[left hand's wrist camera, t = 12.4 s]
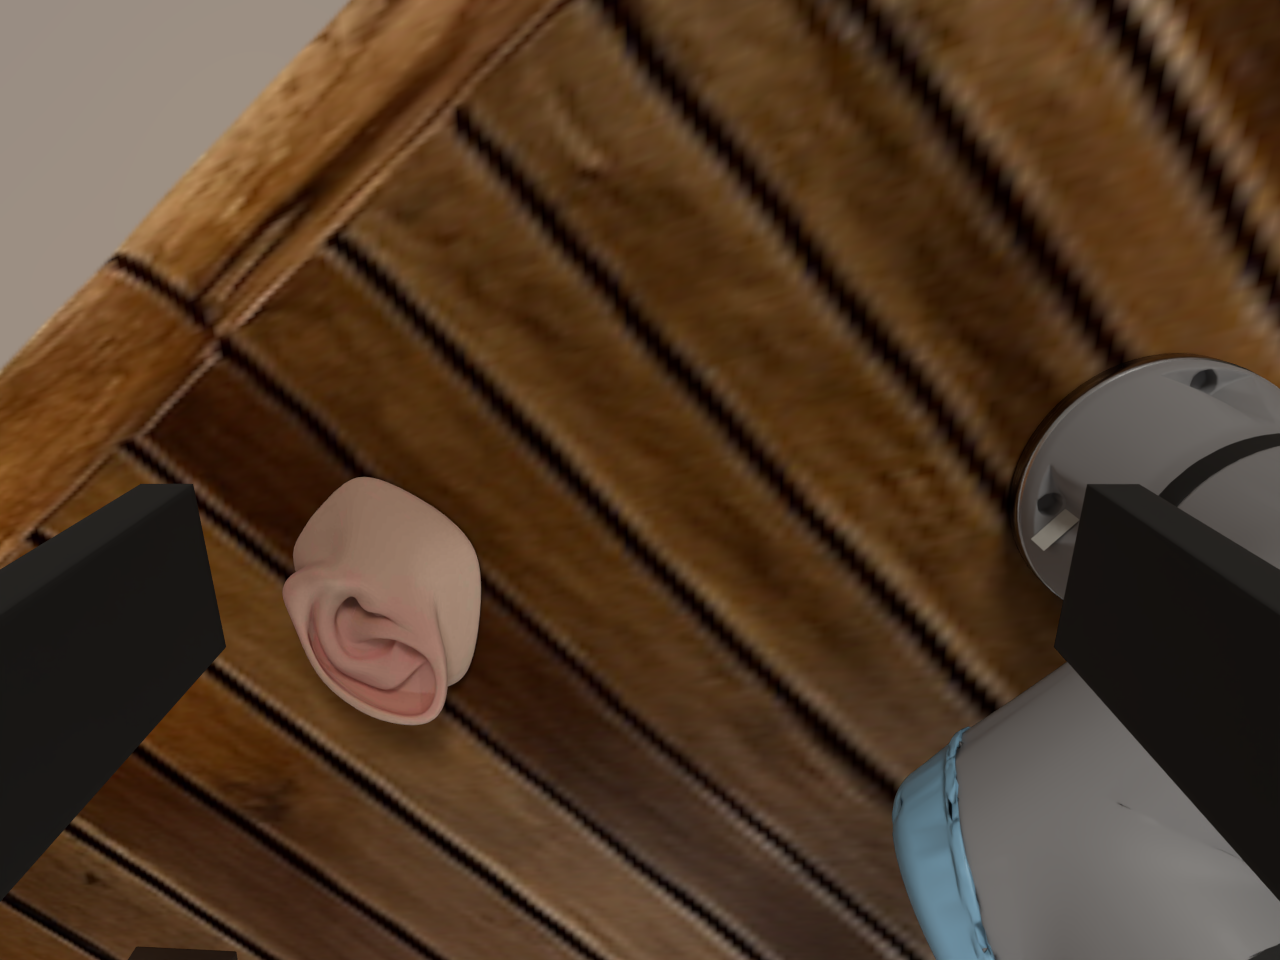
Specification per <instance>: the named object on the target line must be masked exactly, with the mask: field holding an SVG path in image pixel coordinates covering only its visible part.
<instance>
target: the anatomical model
mask: <svg viewBox="0 0 1280 960" xmlns="http://www.w3.org/2000/svg"><path fill="white" fill-rule="evenodd" d="M293 559H294V566H295V571H296V572H295V573H294V574H292V575H291V576H290V577H289V578H288V579H287V581H286V582H285V584H284V587H283V599H284V602H285V605H286V608H287V610H288V612H289V615H290V617H291V619H292V622H293V624H294V627H295V629H296V631H297V634H298V636H299V639H300V641H301V644H302V646H303V648H304V650H305V653H306V655H307V657H308V659H309V661H310V663H311V664H312V666H313V668H314V670H315V671H316V673H317V674H318V675H319V677H320V678H321V679H322V681H323V682H324V683H325V684H326V685H327V686H328V687H329V688H330V689H331V690H332V691H333V692H334V693H335V694H337V695H338V696H339V697H340V698H342V699H343V700H344V701H345V702H347V703H348V704H350V705H352V706H353V707H355V708H356V709H358V710H360V711H361V712H363V713H365V714H367V715H369V716H372V717H374V718H377V719H380V720H383V721H387V722H391V723H396V724H402V725H420V724H425V723H428V722H430V721H432V720H433V719H435V718H436V717H437V716H438V714H439V713H440V712H441V710H442V708H443V706H444V703H445V699H446V695H447V687H448V686H450V685H452V684H454V683H456V682H458V681H459V680H460V679H461V678H462V677H463V676H464V675H465V673H466V672H467V670H468V668H469V666H470V663H471V660H472V657H473V654H474V650H475V644H476V639H477V633H478V626H479V617H480V603H481V579H480V568H479V563H478V559H477V556H476V553H475V550H474V548H473V546H472V544H471V543H470V541H469V540H468V538H467V537H466V536H465V534H464V533H463V532H462V531H461V530H460V529H459V528H458V527H457V526H456V525H455V524H454V523H453V522H452V521H451V520H450V519H448V518H447V517H446V516H445V515H444V514H442V513H441V512H439V511H438V510H437V509H435V508H434V507H432V506H431V505H429V504H428V503H426V502H424V501H423V500H421V499H419V498H418V497H416V496H414V495H412V494H410V493H409V492H407V491H405V490H403V489H401V488H399V487H397V486H394V485H392V484H390V483H388V482H385V481H382V480H379V479H375V478H370V477H358V478H354V479H352V480H350V481H348V482H346V483H345V484H343V485H342V486H341V487H340V488H338V489H337V490H336V491H335V492H334V493H333V494H332V495H331V496H330V497H329V498H328V499H327V500H326V501H325V502H324V503H323V505H322V506H321V507H320V508H319V509H318V510H317V511H316V512H315V513H314V515H313V516H312V517H311V518H310V520H309V521H308V523H307V525H306V526H305V528H304V529H303V531H302V533H301V534H300V536H299V538H298V540H297V542H296V544H295V547H294V552H293Z"/></svg>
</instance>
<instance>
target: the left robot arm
mask: <svg viewBox="0 0 1280 960" xmlns="http://www.w3.org/2000/svg"><path fill="white" fill-rule="evenodd" d="M1010 521H1011V527H1012V532H1013V536H1014V539H1015V542H1016V545H1017V547H1018V550H1019V552H1020V554H1021V556H1022V558H1023V559H1024V561H1025V562H1026V564H1027V565H1028V567H1029V568H1030V569H1031V570H1032V572H1033V573H1034V574H1035V575H1036V576H1037V577H1038V578H1039V579H1040V580H1041V581H1042V582H1043V583H1044V584H1045V585H1046V586H1047V587H1048V588H1049V589H1050V590H1051V591H1052V592H1053V593H1055V594H1056V595H1057V596H1059V597H1060V598H1061V599H1063V605H1062V610H1061V615H1060V620H1059V625H1058V630H1057V635H1056V640H1055V645H1054V647H1055V649H1056V650H1057V651H1058V652H1059V653H1060V654H1061V655H1062V657H1063V658H1064V659H1065V660H1066V661H1067V662H1066V663H1065V664H1063V665H1062V666H1060V667H1059V668H1057V669H1056V670H1055V671H1053V672H1052V673H1050V674H1049V675H1047V676H1046V677H1045V678H1043V679H1042V680H1040V681H1039V682H1037V683H1036V684H1034V685H1033V686H1032V687H1030V688H1029V689H1027V690H1026V691H1024V692H1023V693H1022V694H1020V695H1019V696H1017V697H1016V698H1014V699H1013V700H1011V701H1010V702H1009V703H1007V704H1006V705H1004V706H1003V707H1001V708H1000V709H998V710H997V711H995V712H993V713H992V714H990V715H989V716H987V717H986V718H984V719H983V720H981V721H980V722H978V723H977V724H975V725H974V726H972V727H966V728H964V729H961V730H960V731H959V732H956V733H955V734H954V736H953V737H952V739H951V741H950V743H949V744H948V745H947V746H945V747H944V748H943V749H942V750H940V751H939V752H938V753H937V754H935V755H934V756H933V757H932V758H930V759H929V760H928V761H927V762H926V763H924V764H923V765H922V766H920V767H919V768H918V769H916V770H915V771H914V772H912V773H911V774H910V775H909V776H908V777H907V778H906V779H905V780H904V781H903V783H902V784H901V786H900V787H899V789H898V791H897V794H896V796H895V800H894V805H893V812H892V820H893V840H894V846H895V852H896V856H897V861H898V865H899V868H900V872H901V875H902V879H903V882H904V885H905V888H906V891H907V894H908V896H909V899H910V902H911V904H912V907H913V910H914V912H915V915H916V917H917V919H918V922H919V924H920V927H921V929H922V931H923V933H924V935H925V938H926V940H927V942H928V944H929V946H930V948H931V950H932V952H933V954H934V956H935V958H936V960H1280V389H1279V388H1278V387H1277V386H1275V385H1274V384H1272V383H1271V382H1269V381H1267V380H1266V379H1264V378H1262V377H1260V376H1259V375H1257V374H1255V373H1253V372H1252V371H1250V370H1248V369H1245V368H1243V367H1240V366H1238V365H1235V364H1232V363H1229V362H1226V361H1222V360H1219V359H1215V358H1212V357H1208V356H1203V355H1196V354H1184V353H1172V354H1160V355H1153V356H1147V357H1143V358H1139V359H1135V360H1132V361H1129V362H1125V363H1122V364H1120V365H1117V366H1115V367H1113V368H1110V369H1108V370H1106V371H1104V372H1102V373H1100V374H1098V375H1096V376H1095V377H1093V378H1091V379H1090V380H1088V381H1086V382H1085V383H1083V384H1082V385H1080V386H1079V387H1078V388H1076V389H1075V390H1074V391H1072V392H1071V393H1070V394H1068V395H1067V396H1066V397H1065V398H1064V399H1063V400H1062V401H1061V402H1059V403H1058V404H1057V405H1056V406H1055V407H1054V408H1053V410H1052V411H1051V412H1050V413H1049V414H1048V415H1047V416H1046V417H1045V419H1044V420H1043V421H1042V422H1041V424H1040V425H1039V426H1038V427H1037V429H1036V430H1035V432H1034V433H1033V435H1032V436H1031V438H1030V440H1029V441H1028V443H1027V445H1026V447H1025V449H1024V451H1023V453H1022V455H1021V457H1020V460H1019V462H1018V465H1017V468H1016V471H1015V474H1014V478H1013V482H1012V487H1011V494H1010ZM225 647H226V645H225V640H224V635H223V630H222V625H221V620H220V615H219V610H218V605H217V600H216V595H215V590H214V585H213V580H212V575H211V571H210V566H209V561H208V556H207V551H206V546H205V541H204V536H203V531H202V526H201V521H200V516H199V511H198V506H197V501H196V496H195V491H194V487H193V484H140V485H138V486H137V487H135V488H133V489H132V490H130V491H129V492H127V493H125V494H124V495H122V496H120V497H119V498H117V499H115V500H114V501H112V502H110V503H109V504H107V505H106V506H104V507H102V508H101V509H99V510H97V511H96V512H94V513H92V514H91V515H89V516H87V517H86V518H84V519H83V520H81V521H79V522H78V523H76V524H74V525H73V526H71V527H69V528H68V529H66V530H64V531H63V532H61V533H60V534H58V535H56V536H55V537H53V538H51V539H50V540H48V541H46V542H45V543H43V544H41V545H40V546H38V547H37V548H35V549H33V550H32V551H30V552H28V553H27V554H25V555H23V556H22V557H20V558H18V559H17V560H15V561H14V562H12V563H10V564H9V565H7V566H5V567H4V568H2V569H0V901H1V900H2V899H3V898H4V897H5V896H6V894H7V893H8V892H9V891H10V890H11V889H12V888H13V887H14V885H15V884H16V883H17V882H18V881H19V880H20V879H21V878H22V876H23V875H24V874H25V873H26V872H27V871H28V870H29V868H30V867H31V866H32V865H33V864H34V863H35V862H36V861H37V859H38V858H39V857H40V856H41V855H42V854H43V853H44V852H45V850H46V849H47V848H48V847H49V846H50V845H51V844H52V843H53V841H54V840H55V839H56V838H57V837H58V836H59V835H60V834H61V832H62V831H63V830H64V829H65V828H66V827H67V826H68V825H69V823H70V822H71V821H72V820H73V819H74V818H75V817H76V816H77V814H78V813H79V812H80V811H81V810H82V809H83V808H84V806H85V805H86V804H87V803H88V802H89V801H90V800H91V799H92V797H93V796H94V795H95V794H96V793H97V792H98V791H99V790H100V788H101V787H102V786H103V785H104V784H105V783H106V782H107V781H108V779H109V778H110V777H111V776H112V775H113V774H114V773H115V772H116V770H117V769H118V768H119V767H120V766H121V765H122V764H123V763H124V761H125V760H126V759H127V758H128V757H129V756H130V755H131V753H132V752H133V751H134V750H135V749H136V748H137V747H138V746H139V744H140V743H141V742H142V741H143V740H144V739H145V738H146V737H147V735H148V734H149V733H150V732H151V731H152V730H153V729H154V728H155V726H156V725H157V724H158V723H159V722H160V721H161V720H162V719H163V717H164V716H165V715H166V714H167V713H168V712H169V711H170V710H171V708H172V707H173V706H174V705H175V704H176V703H177V702H178V700H179V699H180V698H181V697H182V696H183V695H184V694H185V693H186V691H187V690H188V689H189V688H190V687H191V686H192V685H193V684H194V682H195V681H196V680H197V679H198V678H199V677H200V676H201V675H202V673H203V672H204V671H205V670H206V669H207V668H208V667H209V666H210V664H211V663H212V662H213V661H214V660H215V659H216V658H217V657H218V655H219V654H220V653H221V652H222V651H223V650H224V649H225Z"/></svg>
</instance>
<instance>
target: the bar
mask: <svg viewBox="0 0 1280 960" xmlns="http://www.w3.org/2000/svg"><path fill="white" fill-rule="evenodd" d="M128 960H237V953H236V952H235V951H215V950H195V949H175V948H155V947H136V948H135V950H134V951H133V953H132V954H131V956H130V957H129V959H128Z"/></svg>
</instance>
